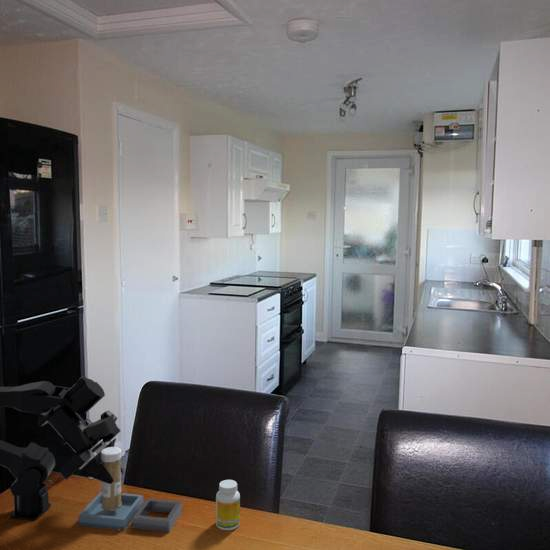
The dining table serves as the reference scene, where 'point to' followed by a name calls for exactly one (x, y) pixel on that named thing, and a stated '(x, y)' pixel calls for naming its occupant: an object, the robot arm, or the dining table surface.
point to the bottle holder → (153, 522)
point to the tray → (111, 513)
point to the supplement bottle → (227, 505)
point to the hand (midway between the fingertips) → (116, 477)
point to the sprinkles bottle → (113, 466)
